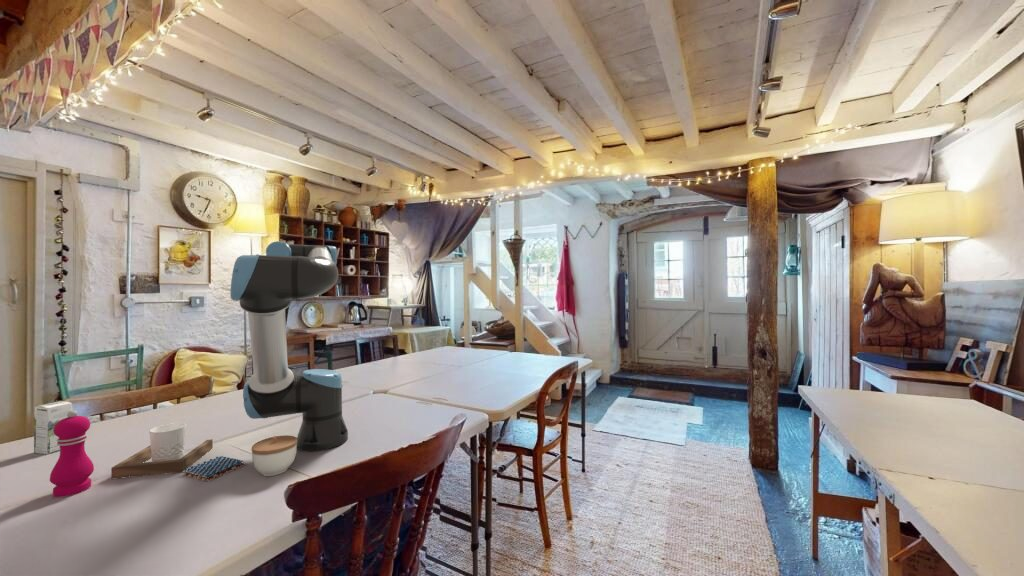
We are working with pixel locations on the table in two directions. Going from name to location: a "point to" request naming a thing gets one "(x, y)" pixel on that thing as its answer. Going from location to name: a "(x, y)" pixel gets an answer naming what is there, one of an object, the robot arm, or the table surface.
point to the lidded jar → (274, 454)
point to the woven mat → (213, 468)
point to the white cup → (168, 441)
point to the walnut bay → (158, 462)
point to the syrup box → (48, 425)
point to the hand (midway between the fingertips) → (277, 349)
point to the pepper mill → (71, 456)
